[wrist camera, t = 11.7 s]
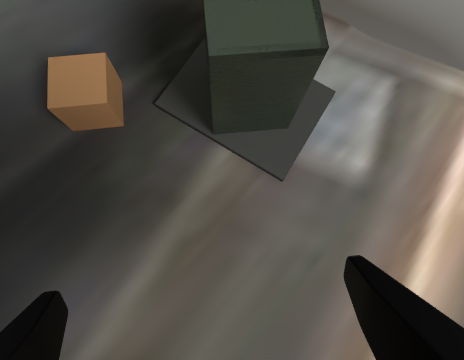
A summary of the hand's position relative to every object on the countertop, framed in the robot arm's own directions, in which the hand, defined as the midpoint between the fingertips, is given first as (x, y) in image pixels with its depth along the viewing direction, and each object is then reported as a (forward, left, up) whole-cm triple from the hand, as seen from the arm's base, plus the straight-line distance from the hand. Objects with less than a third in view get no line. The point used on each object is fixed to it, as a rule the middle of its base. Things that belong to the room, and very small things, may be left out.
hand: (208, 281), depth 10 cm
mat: (+5, -13, -14) cm, 19 cm away
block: (+15, -6, -14) cm, 21 cm away
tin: (+5, -13, -13) cm, 19 cm away
